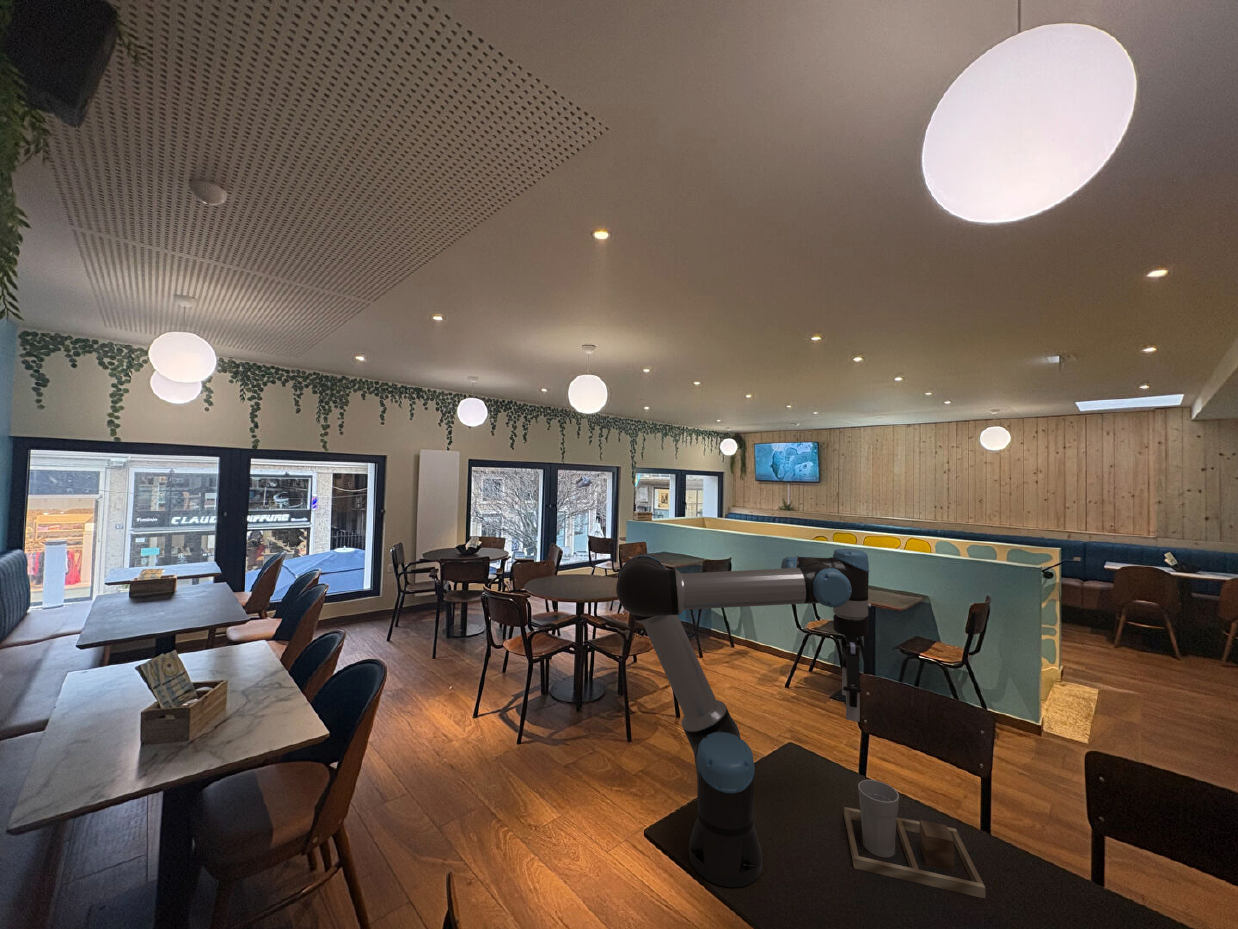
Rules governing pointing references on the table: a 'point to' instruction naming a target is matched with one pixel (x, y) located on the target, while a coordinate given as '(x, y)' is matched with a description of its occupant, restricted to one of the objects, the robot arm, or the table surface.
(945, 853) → the walnut block
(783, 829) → the table surface
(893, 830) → the cup
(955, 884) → the frame
